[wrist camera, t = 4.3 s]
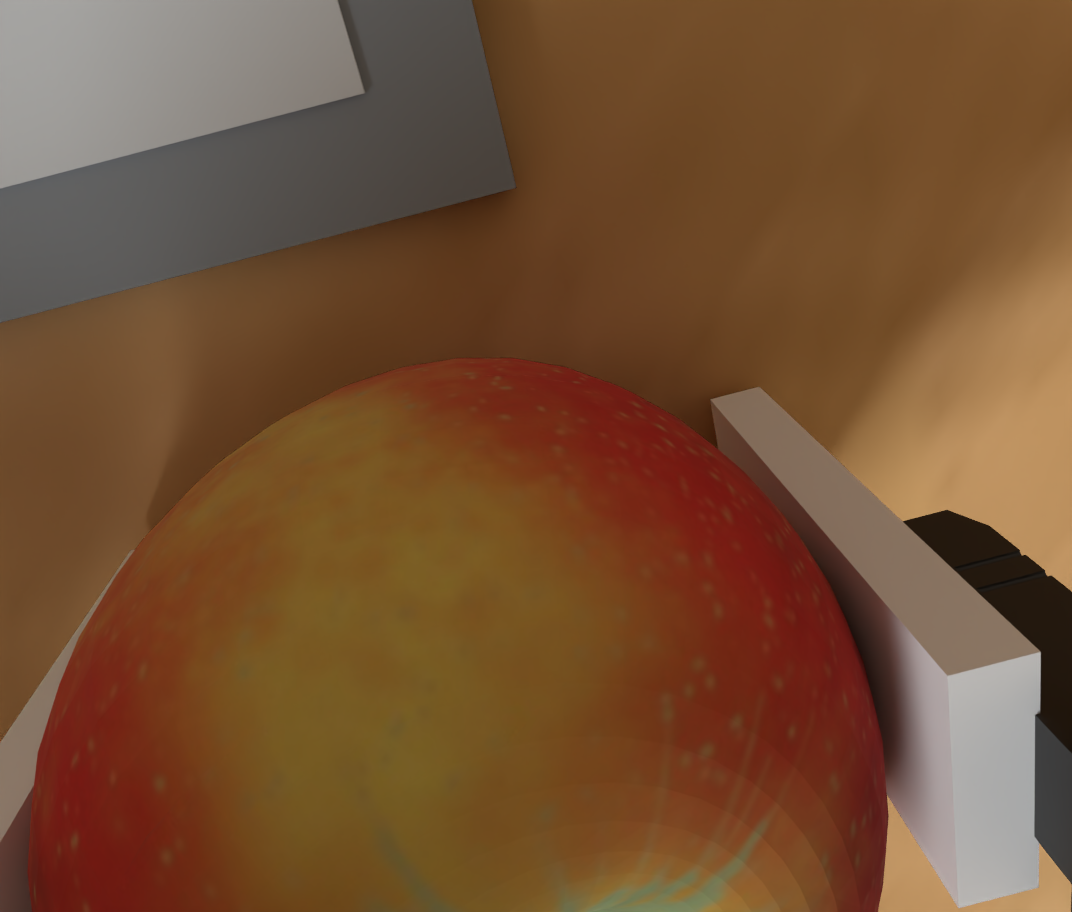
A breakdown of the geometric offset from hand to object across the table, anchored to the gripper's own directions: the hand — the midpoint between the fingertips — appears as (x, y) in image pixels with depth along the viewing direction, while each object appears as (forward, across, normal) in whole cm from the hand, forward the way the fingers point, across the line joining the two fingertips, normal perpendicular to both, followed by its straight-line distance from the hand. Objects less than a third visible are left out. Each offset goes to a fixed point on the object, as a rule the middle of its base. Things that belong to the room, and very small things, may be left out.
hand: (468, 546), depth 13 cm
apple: (0, 0, 0) cm, 0 cm away
